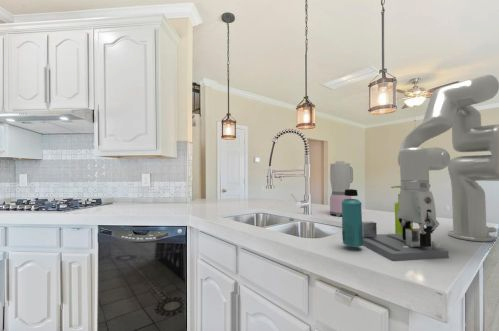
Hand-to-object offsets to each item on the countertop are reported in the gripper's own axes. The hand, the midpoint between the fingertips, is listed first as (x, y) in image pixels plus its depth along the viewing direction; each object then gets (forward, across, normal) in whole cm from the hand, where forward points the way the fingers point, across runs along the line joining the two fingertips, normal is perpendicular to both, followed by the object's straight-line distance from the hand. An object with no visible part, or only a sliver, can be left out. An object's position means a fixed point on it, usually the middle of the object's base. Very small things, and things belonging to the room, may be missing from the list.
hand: (416, 242), depth 74 cm
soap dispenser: (+4, +18, -10) cm, 21 cm away
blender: (+4, +65, -10) cm, 66 cm away
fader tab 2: (+1, 0, 0) cm, 1 cm away
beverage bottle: (+4, +7, +18) cm, 19 cm away
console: (+3, +5, +3) cm, 7 cm away
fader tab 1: (+1, +12, +9) cm, 15 cm away
